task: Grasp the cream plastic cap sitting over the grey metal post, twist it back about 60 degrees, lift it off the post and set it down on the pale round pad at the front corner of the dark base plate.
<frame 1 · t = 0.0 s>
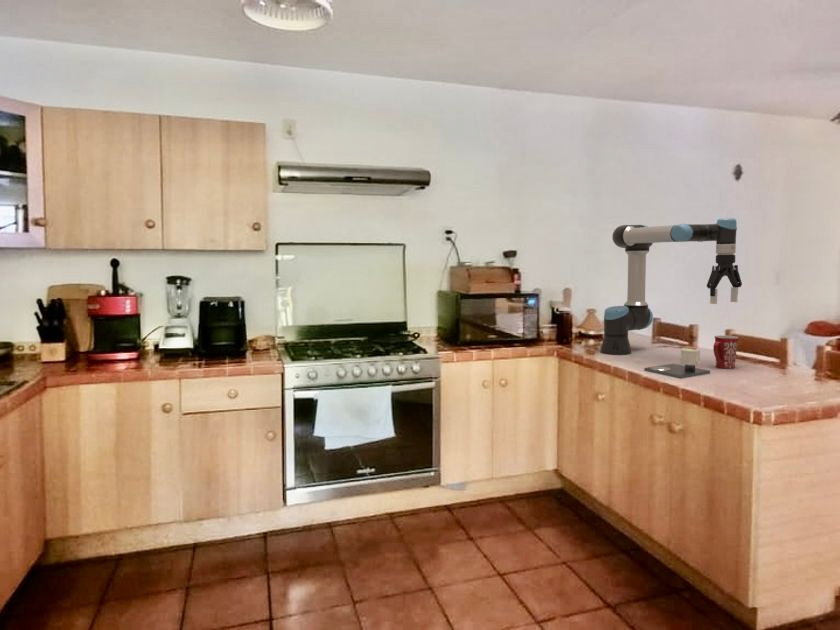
hand: (723, 302, 244), 28 cm above the counter, fingers open, 13 cm apart
mug: (722, 367, 243), on the counter
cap: (690, 363, 233), point 4 cm above the counter, touching post base
post base: (676, 371, 236), on the counter
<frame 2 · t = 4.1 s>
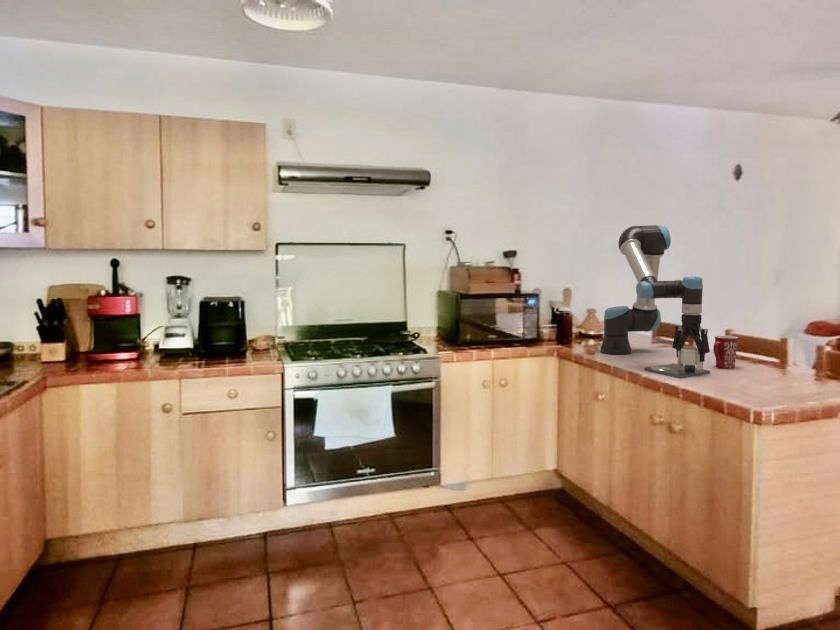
hand: (689, 367, 233), 2 cm above the counter, fingers closed on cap, 9 cm apart
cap: (690, 363, 233), point 4 cm above the counter, touching gripper, post base
everything else where it was.
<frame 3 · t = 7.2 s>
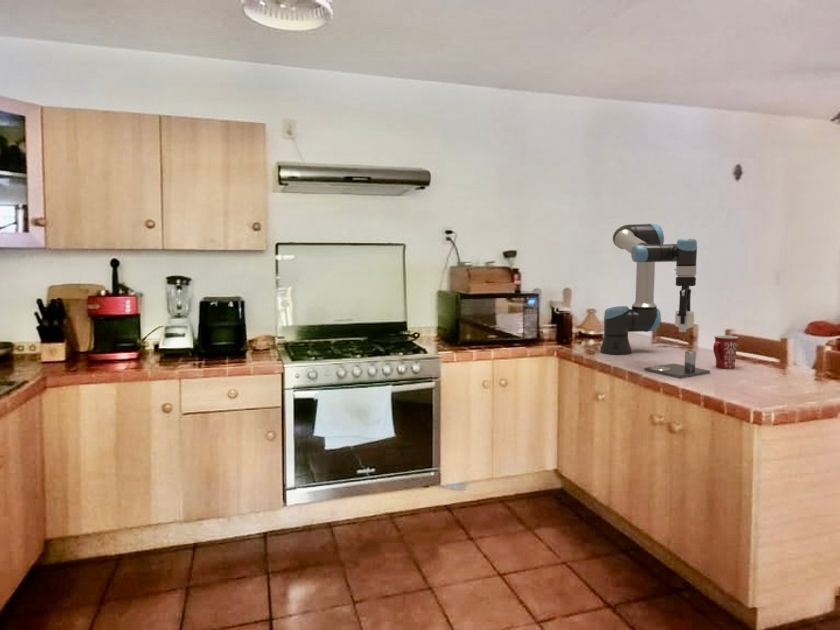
hand: (684, 330, 233), 18 cm above the counter, fingers closed on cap, 9 cm apart
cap: (684, 326, 232), point 20 cm above the counter, touching gripper
everything else where it was.
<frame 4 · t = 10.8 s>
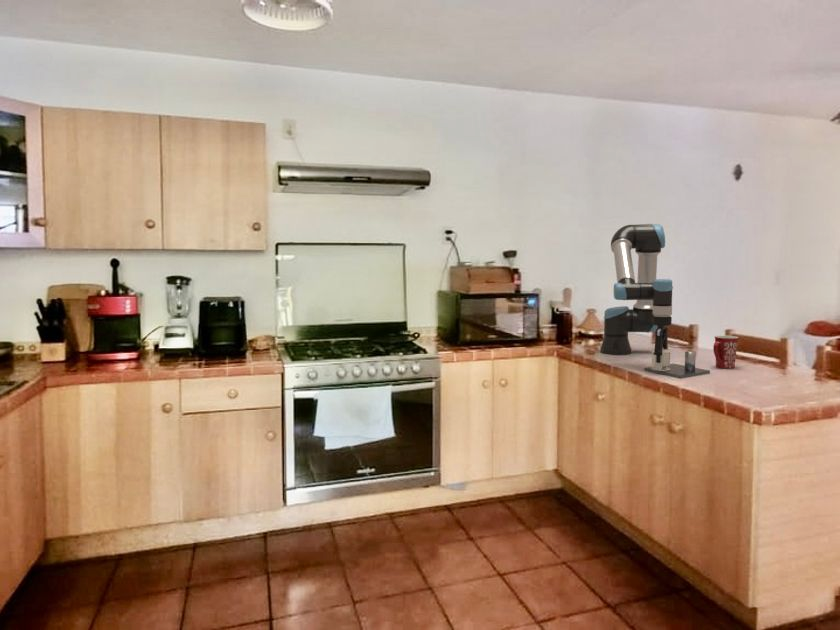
hand: (660, 368, 237), 1 cm above the counter, fingers closed on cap, 9 cm apart
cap: (660, 364, 237), point 3 cm above the counter, touching gripper
everything else where it was.
when the fingers open (1 cm above the counter, at t = 10.8 s): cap drops 2 cm, resting on post base.
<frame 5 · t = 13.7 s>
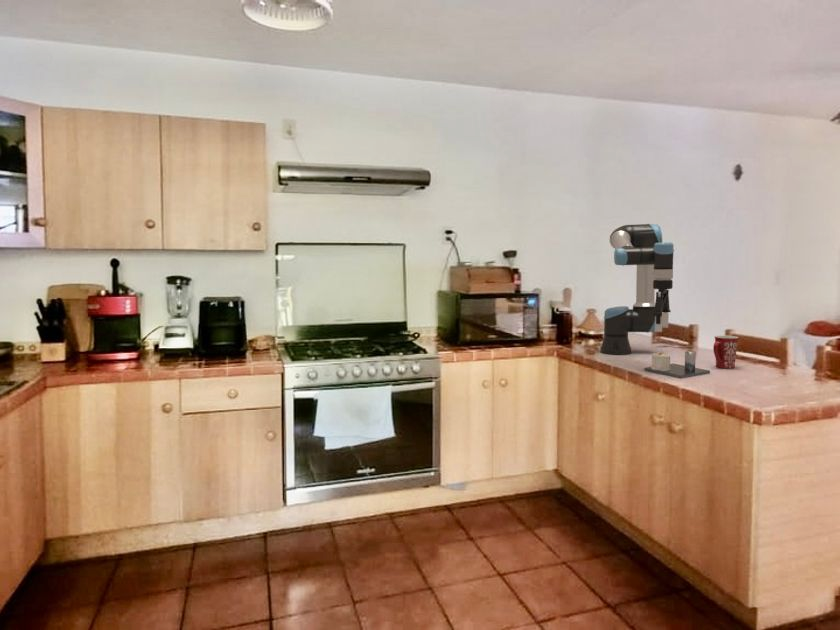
hand: (661, 329, 235), 18 cm above the counter, fingers open, 13 cm apart
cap: (660, 368, 237), point 1 cm above the counter, touching post base
everything else where it was.
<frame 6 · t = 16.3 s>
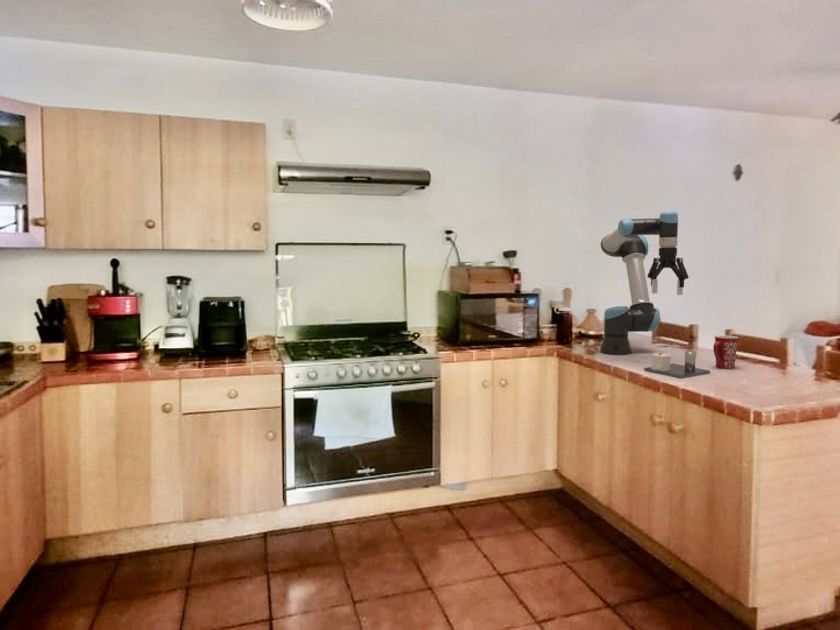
hand: (666, 294, 252), 32 cm above the counter, fingers open, 13 cm apart
nothing on the counter moved.
at the end: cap inside the target area on the post base (0.2 cm from its centre), point 1.4 cm above the post base's base; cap tilted 0°; the gripper is holding nothing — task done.
